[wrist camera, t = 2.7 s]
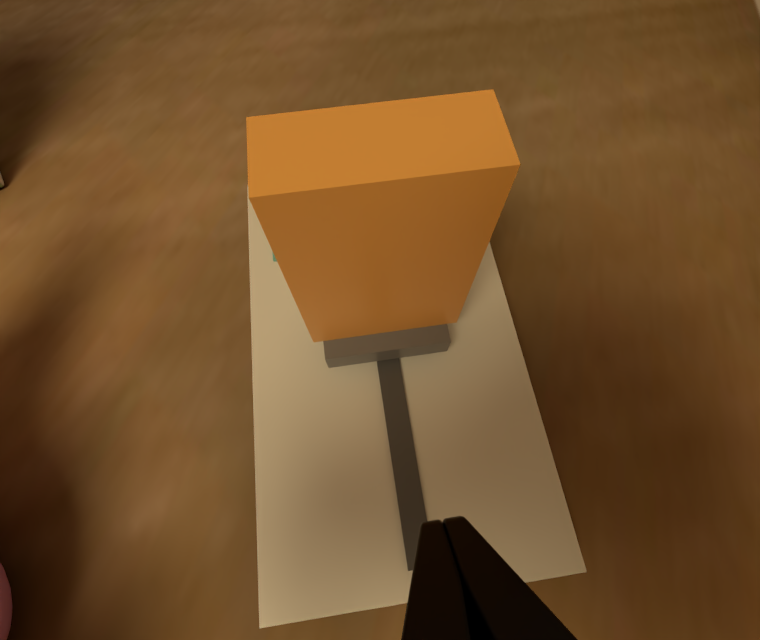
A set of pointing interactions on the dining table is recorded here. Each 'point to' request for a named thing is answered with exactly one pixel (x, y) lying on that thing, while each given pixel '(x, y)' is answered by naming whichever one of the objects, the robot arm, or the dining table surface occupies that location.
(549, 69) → the dining table surface
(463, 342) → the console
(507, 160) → the fader
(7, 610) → the teapot
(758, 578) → the dining table surface
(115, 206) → the dining table surface
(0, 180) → the syrup box
